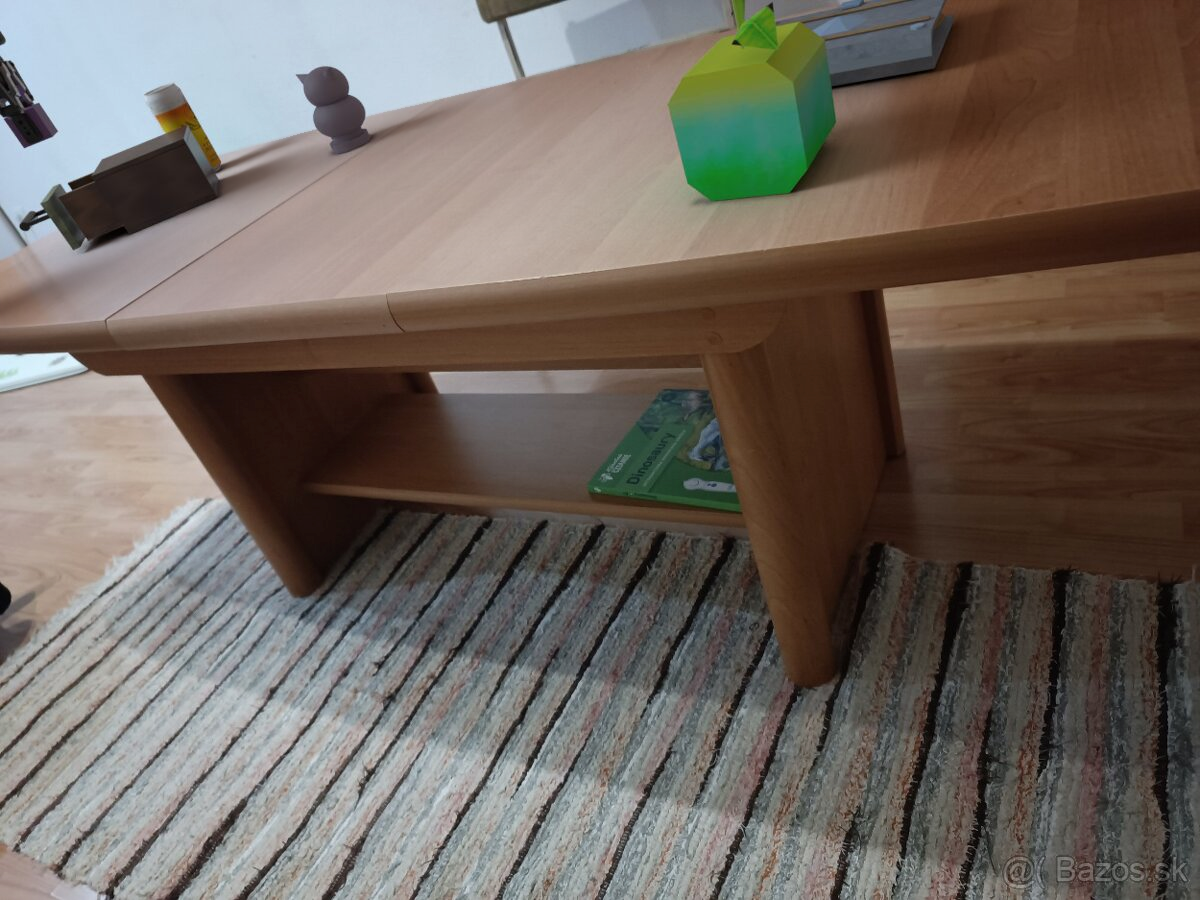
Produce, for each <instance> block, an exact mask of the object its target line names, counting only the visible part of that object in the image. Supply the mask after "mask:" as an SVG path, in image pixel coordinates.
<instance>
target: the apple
mask: <svg viewBox="0 0 1200 900" xmlns="http://www.w3.org/2000/svg"><path fill="white" fill-rule="evenodd" d="M731 5H732V10H733V15H734V19H735V25H736V29H737V33H736V34H733V35H727V36H723V37H721V38H720V39H719V40H718V41H717V42H716V43H715V44H714V45H712V47H711V48H710V49H709V50H708V51H707V52H706V53H705V54H704V55H703V56H702V57H701V58H700V59H699V60H698V61H697V63H695V64H694V65H693V66H692V67H691V68H690V69H689V70H688V71H687V72H686V73H685V74H684V75H683V76H682V78H681V79H680V81H679V83H678V85H677V86H676V88H675V90H674V91H673V94H672V95H671V97H670V99H669V100H668V102H667V107H668V110H669V116H670V119H671V122H672V127H673V132H674V135H675V139H676V143H677V147H678V151H679V155H680V159H681V164H682V167H683V171H684V175H685V179H686V183H687V185H689V186H690V187H691V188H693V189H694V190H695V191H697V192H698V193H700V194H701V195H702V196H704V197H705V198H707V199H708V200H709V201H711V202H716V201H727V200H736V199H746V198H755V197H763V196H773V195H783V194H790V193H791V192H792V190H793V189H794V188H795V186H796V185H797V184H798V182H799V181H800V180H801V178H803V176H804V175H805V174H806V172H807V171H808V170H809V168H810V167H811V164H813V161H814V160H815V158H816V156H817V155H818V153H819V152H820V150H821V148H822V147H823V145H824V143H825V142H826V140H827V138H828V137H829V135H830V133H831V132H832V131H833V129H834V128H835V125H836V124H837V116H836V110H835V103H834V102H835V101H834V96H833V89H832V86H831V80H830V73H829V66H828V59H827V52H826V45H825V40H824V39H823V38H821V37H820V36H819V35H817V34H816V33H815V32H813V31H812V30H811V29H809V28H808V27H807V26H805V25H804V24H803V23H801V22H795V23H791V24H786V25H781V26H776V24H775V21H776V17H775V16H776V15H775V9H774V2H773V1H772V2H770V3H769V4H767V5H766V6H765V7H763V8H762V9H760V10H759V11H758V12H756V13H755V14H753V15H752V16H751V17H749V18H748V19H747V20H745V18H746V15H745V14H746V0H731Z"/></svg>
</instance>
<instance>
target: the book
mask: <svg viewBox="0 0 1200 900" xmlns="http://www.w3.org/2000/svg"><path fill="white" fill-rule="evenodd" d="M946 2H947V0H868V1H865V0H849V1H843V2H842V3H841V4H840V7H836V8H831V9H826V10H822V11H817V12H813V13H807V14H804V15H799V16H795V17H790V18H786V19H781V20H776V19H775V24H776V26H781V25H786V24H791V23H795V22H801V23H803V24H804V25H805V26H807V27H808V28H809V29H811V30H812V31H813V32H815V33H816V34H817V35H819V36H820V37H821V38H823V39H824V40H825V45H826V52H827V59H828V66H829V73H830V80H831V87H835V86H841V85H846V84H853V83H859V82H864V81H870V80H876V79H881V78H888V77H892V76H898V75H899V76H900V75H905V74H911V73H916V72H922V71H928V70H933V69H935V68H936V65H937V63H938V61H939V58H940V55H941V54H942V51H943V49H944V46H945V44H946V41H947V39H948V36H949V34H950V31H951V28H952V27H953V24H954V21H955V13H952V14H946V15H945V14H943V13H942V11H943V9H944V7H945V4H946Z"/></svg>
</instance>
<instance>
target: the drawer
mask: <svg viewBox="0 0 1200 900" xmlns="http://www.w3.org/2000/svg"><path fill="white" fill-rule="evenodd" d="M93 173H94V171H93V172H91V173H87V174H86V175H83V176H80V177H78V178H76V179H73V180H71V181H68V182H67V185H68V186H69V188H70V189H71V190H70V191H67V192H66V190H65V188H64V187H63V186H62V184H61V183H58V184H55V185H53V186H52V187H51V189H50V190H49V191H48V193H47V194H46V195H45V196H44V198H43V199H42V201H41V202H40V203H39V204H40V207H42V209H40V210H38V211H34V210H30V211H28V213H27V214H26V215H25V216H24V218H23V219H22V220H21V221H20V223H19V225H18V227H19V229H20V230H21V231H23V232H29V230H30V229H31V228H33V226H35V225H38V224H40V223H42V222H45V221H48V220H51V221H52V222H53V225H54V226H55V227H56V228H57V230H58V231H59V233H60V234H61V235H62V237H63V239H64V240H65V241H66V242H67V244H68V245H69V247H70V248H71V249H72V251H75V250H78V249H80V248H82V246H83V244H84V241H85V239H86V240H87V241H92V240H94V239H96V238H99V237H101V236H103V235H105V234H109V233H110V232H113V231H116V230H118V229H120V228H122V227H124V225H123V224H122V222H121V221H120V219H119V218H118V216H117V215H116V213H115V212H114V210H113V209H112V207H111V206H110V204H109V203H108V201H107V200H106V198H105V197H104V195H103V194H102V192H101V191H100V189H99V188H98V186H97V185H96V183H95V182H94V180H93V179H92V177H91V176H92V174H93Z"/></svg>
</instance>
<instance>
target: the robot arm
mask: <svg viewBox="0 0 1200 900" xmlns="http://www.w3.org/2000/svg"><path fill="white" fill-rule="evenodd" d="M6 42H7V39H6V37H5V36H4V34H3V33H2V31H1V30H0V46H3V45H5V44H6ZM34 101H35V98H34V96H33V94H32V93H31V91H30V89H29V88H28V86H27V84H26V83H25V81H24V79H23V78H22V76H21V73H19V71H18V69H17V67H16V65H15V63H14V62H13V61H12V60H10V59H9V60H5V59H4V58H3V57H2V56H1V55H0V116H1V117H2V118H3V119H4V118H5V117H7V118H8V119H9V120H11V119H12V122H13V123H14V124H15V126H16V127H17V129H18V130H19V132H20V133H21V134H22V136H23V137H24V139H25V140H26V142H27V143H29V144H33V143H35V142H38V141H40V140H42V138H43V136H42V134H41V133H40V131H39V130H38V128H37V127H36V125H35V124H34V123H33V121H32V120H31V118H30V117H29V115H28V114H26V110H25V108H26V107H29V106H31V105H34V104H35V103H34ZM7 102H8V104H7ZM24 114H25V115H24Z"/></svg>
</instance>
